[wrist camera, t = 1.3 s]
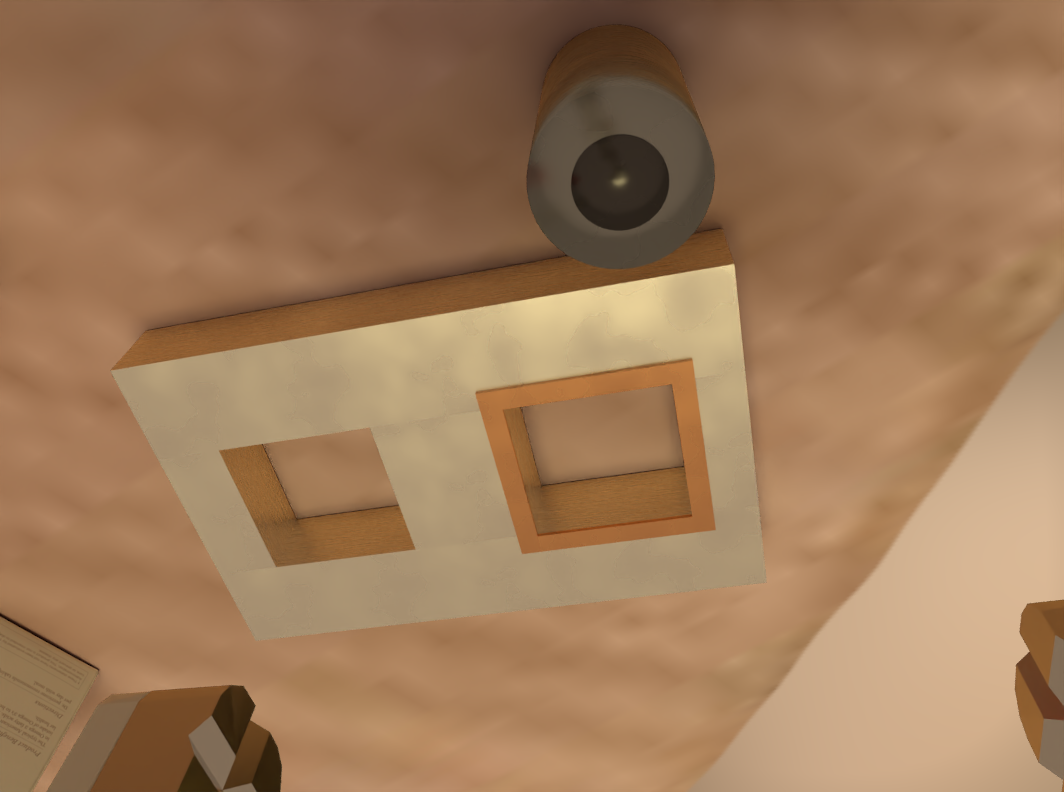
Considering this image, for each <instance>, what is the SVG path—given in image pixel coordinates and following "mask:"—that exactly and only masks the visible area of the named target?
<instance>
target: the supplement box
mask: <svg viewBox="0 0 1064 792" xmlns="http://www.w3.org/2000/svg"><path fill="white" fill-rule="evenodd" d="M98 673H99V671H98V670H97V669H95V668H93V667H91V666H89V665H87V664H86V663H84V662H82V661H80V660H78V659H76V658H74V657H73V656H71V655H69V654H67V653H65V652H64V651H62V650H60V649H58V648H56V647H54V646H53V645H51V644H49V643H47V642H45V641H43V640H42V639H40V638H38V637H36V636H34V635H33V634H31V633H29V632H27V631H25V630H24V629H22V628H20V627H18V626H16V625H15V624H13V623H11V622H9V621H7V620H6V619H4V618H2V617H0V792H33V790H34V788H35V786H36V785H37V783H38V781H39V779H40V778H41V776H42V774H43V772H44V771H45V769H46V767H47V765H48V764H49V762H50V760H51V758H52V756H53V755H54V753H55V751H56V749H57V748H58V746H59V744H60V742H61V741H62V739H63V737H64V735H65V734H66V732H67V730H68V728H69V726H70V724H71V723H72V721H73V719H74V717H75V715H76V713H77V711H78V710H79V708H80V706H81V704H82V702H83V701H84V699H85V697H86V695H87V693H88V692H89V690H90V688H91V686H92V685H93V683H94V681H95V679H96V677H97V675H98Z"/></svg>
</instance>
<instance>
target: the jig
mask: <svg viewBox="0 0 1064 792" xmlns="http://www.w3.org/2000/svg"><path fill="white" fill-rule="evenodd" d="M110 371H111V373H112V375H113V377H114V379H115V381H116V383H117V384H118V386H119V388H120V390H121V392H122V394H123V396H124V397H125V399H126V401H127V403H128V405H129V407H130V408H131V410H132V412H133V414H134V416H135V418H136V420H137V421H138V423H139V425H140V427H141V429H142V431H143V433H144V434H145V436H146V438H147V440H148V442H149V444H150V446H151V447H152V449H153V451H154V453H155V455H156V457H157V458H158V460H159V462H160V464H161V466H162V468H163V470H164V471H165V473H166V475H167V477H168V479H169V481H170V483H171V484H172V486H173V488H174V490H175V492H176V494H177V496H178V497H179V499H180V501H181V503H182V505H183V507H184V508H185V510H186V512H187V514H188V516H189V518H190V520H191V521H192V523H193V525H194V527H195V529H196V531H197V533H198V534H199V536H200V538H201V540H202V542H203V544H204V546H205V547H206V549H207V551H208V553H209V555H210V557H211V558H212V560H213V562H214V564H215V566H216V568H217V570H218V571H219V573H220V575H221V577H222V579H223V581H224V583H225V584H226V586H227V588H228V590H229V592H230V594H231V596H232V597H233V599H234V601H235V603H236V605H237V607H238V608H239V610H240V612H241V614H242V616H243V618H244V620H245V621H246V623H247V625H248V627H249V629H250V631H251V633H252V634H253V636H254V638H255V640H256V641H258V640H267V639H275V638H284V637H293V636H302V635H311V634H319V633H328V632H337V631H346V630H355V629H363V628H372V627H381V626H390V625H399V624H407V623H416V622H425V621H434V620H442V619H451V618H460V617H469V616H478V615H486V614H495V613H504V612H513V611H522V610H530V609H539V608H548V607H557V606H566V605H574V604H583V603H592V602H601V601H609V600H618V599H627V598H636V597H645V596H653V595H662V594H671V593H680V592H689V591H697V590H706V589H715V588H724V587H733V586H741V585H750V584H759V583H767V581H766V571H765V561H764V551H763V542H762V532H761V522H760V512H759V502H758V493H757V483H756V473H755V463H754V453H753V443H752V434H751V424H750V414H749V404H748V394H747V384H746V375H745V365H744V355H743V345H742V335H741V325H740V316H739V306H738V296H737V286H736V276H735V266H734V262H733V259H732V256H731V253H730V250H729V247H728V244H727V241H726V238H725V235H724V232H723V229H717V230H711V231H706V232H700V233H694V234H692V235H691V236H690V238H689V239H688V240H687V241H686V242H685V243H684V244H682V245H681V246H680V247H679V248H678V249H676V250H675V251H673V252H672V253H670V254H669V255H667V256H666V257H664V258H662V259H660V260H658V261H655V262H653V263H650V264H647V265H644V266H640V267H635V268H628V269H607V268H599V267H595V266H591V265H588V264H585V263H583V262H580V261H578V260H576V259H574V258H572V257H570V256H565V257H559V258H553V259H548V260H542V261H537V262H531V263H525V264H520V265H514V266H508V267H503V268H497V269H492V270H486V271H480V272H475V273H469V274H463V275H458V276H452V277H446V278H441V279H435V280H430V281H424V282H418V283H413V284H407V285H401V286H396V287H390V288H385V289H379V290H373V291H368V292H362V293H356V294H351V295H345V296H339V297H334V298H328V299H323V300H317V301H311V302H306V303H300V304H294V305H289V306H283V307H277V308H272V309H266V310H261V311H255V312H249V313H244V314H238V315H232V316H227V317H221V318H216V319H210V320H204V321H199V322H193V323H187V324H182V325H176V326H170V327H165V328H159V329H154V330H148V331H145V332H144V333H143V334H142V336H141V337H140V338H139V339H138V340H137V341H136V342H135V343H134V345H133V346H132V347H131V348H130V349H129V350H128V351H127V352H126V353H125V355H124V356H123V357H122V358H121V359H120V360H119V361H118V362H117V364H116V365H115V366H114V367H113V368H112V369H111V370H110ZM669 384H672V387H673V394H674V400H675V407H676V413H677V420H678V426H679V433H680V439H681V446H682V452H683V459H684V465H685V467H679V468H671V469H664V470H657V471H649V472H642V473H635V474H627V475H620V476H613V477H605V478H598V479H591V480H583V481H576V482H569V483H561V484H554V485H546V486H541V483H540V479H539V476H538V472H537V468H536V464H535V460H534V457H533V453H532V449H531V445H530V441H529V438H528V434H527V430H526V426H525V422H524V419H523V415H522V411H521V407H524V406H530V405H537V404H544V403H550V402H557V401H563V400H570V399H577V398H583V397H590V396H597V395H603V394H610V393H616V392H623V391H630V390H636V389H643V388H649V387H656V386H663V385H669ZM364 428H370V429H371V432H372V435H373V437H374V440H375V443H376V445H377V448H378V451H379V453H380V456H381V458H382V461H383V464H384V466H385V469H386V472H387V474H388V477H389V480H390V482H391V485H392V488H393V490H394V493H395V496H396V498H397V501H398V504H399V506H392V507H385V508H378V509H370V510H363V511H356V512H348V513H341V514H334V515H326V516H319V517H311V518H304V519H296V517H295V515H294V513H293V511H292V509H291V506H290V504H289V502H288V500H287V498H286V495H285V493H284V491H283V489H282V487H281V485H280V482H279V480H278V478H277V476H276V474H275V471H274V469H273V467H272V465H271V463H270V461H269V458H268V456H267V454H266V452H265V450H264V447H263V445H262V444H265V443H272V442H278V441H285V440H291V439H298V438H304V437H311V436H318V435H324V434H331V433H337V432H344V431H351V430H357V429H364Z"/></svg>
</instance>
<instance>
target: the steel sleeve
mask: <svg viewBox="0 0 1064 792" xmlns="http://www.w3.org/2000/svg"><path fill="white" fill-rule="evenodd" d="M714 179H715V173H714V161H713V156H712V152H711V149H710V146H709V143H708V140H707V137H706V135H705V132H704V130H703V127H702V124H701V122H700V119H699V117H698V114H697V111H696V109H695V106H694V104H693V101H692V99H691V96H690V93H689V91H688V88H687V86H686V83H685V81H684V78H683V75H682V73H681V70H680V68H679V66H678V64H677V62H676V59H675V58H674V56H673V55H672V53H671V52H670V51H669V49H668V48H667V47H666V46H665V45H664V44H663V43H662V42H661V41H660V40H658V39H657V38H656V37H654V36H653V35H651V34H649V33H648V32H646V31H643V30H641V29H639V28H635V27H632V26H626V25H605V26H600V27H596V28H593V29H590V30H588V31H585V32H583V33H581V34H580V35H578V36H576V37H575V38H573V39H572V40H571V41H570V42H568V43H567V44H566V45H565V46H564V47H563V48H562V49H561V50H560V51H559V52H558V54H557V55H556V57H555V58H554V59H553V61H552V63H551V65H550V67H549V69H548V71H547V74H546V76H545V80H544V84H543V88H542V93H541V99H540V104H539V109H538V115H537V120H536V125H535V131H534V136H533V141H532V147H531V152H530V157H529V163H528V170H527V193H528V199H529V203H530V206H531V210H532V213H533V215H534V217H535V219H536V222H537V223H538V225H539V226H540V228H541V230H542V231H543V233H544V234H545V235H546V236H547V238H548V239H549V240H550V241H551V242H552V243H553V244H554V245H555V246H556V247H557V248H558V249H560V250H561V251H563V252H564V253H565V254H567V255H568V256H570V257H572V258H574V259H576V260H578V261H580V262H583V263H585V264H588V265H591V266H595V267H599V268H607V269H628V268H635V267H640V266H644V265H647V264H650V263H653V262H655V261H658V260H660V259H662V258H664V257H666V256H667V255H669V254H670V253H672V252H673V251H675V250H676V249H678V248H679V247H680V246H681V245H682V244H684V243H685V242H686V241H687V240H688V239H689V238H690V236H691V235H692V234H693V233H694V232H695V230H696V229H697V228H698V226H699V225H700V223H701V222H702V220H703V218H704V216H705V214H706V212H707V210H708V207H709V204H710V202H711V198H712V194H713V189H714Z"/></svg>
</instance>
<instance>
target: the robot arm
mask: <svg viewBox="0 0 1064 792" xmlns="http://www.w3.org/2000/svg"><path fill="white" fill-rule="evenodd" d="M1020 634H1021V636H1022V638H1023V640H1024V642H1025V643H1026V645H1027V647H1028V649H1029V651H1030V652H1029V653H1028V654H1027V655H1026V656H1025V657H1024V658H1023V659H1021V660H1020V661H1019V662H1018V663H1017V664H1016V678H1015V679H1016V680H1015V692H1016V698H1017V704H1018V709H1019V715H1020V719H1021V722H1022V724H1023V727H1024V730H1025V733H1026V736H1027V739H1028V741H1029V743H1030V745H1031V747H1032V749H1033V751H1034V753H1035V756H1036V758H1037V760H1038V762H1039V763H1040V764H1042V765H1043V766H1044V767H1046V768H1047V769H1049V770H1050V771H1051V772H1053V773H1054V774H1056V775H1057V776H1058V777H1060V778H1061V779H1063V787H1062V792H1064V600H1056V601H1047V602H1038V603H1030V604H1027V606H1026V608H1025V609H1024V610H1023V612H1022V615H1021V623H1020ZM255 706H256V705H255V704H254V702H253V701H252V699H251V697H250V696H249V694H248V692H247V691H246V689H245V688H244V686H237V685H225V686H211V687H198V688H184V689H170V690H156V691H151V692H138V693H125V694H113V695H111V696H109V697H108V698H107V699H105V700H104V701H103V702H101V703H100V704H99V705H98V706H97V707H96V709H95V711H94V712H93V714H92V716H91V717H90V719H89V721H88V722H87V724H86V726H85V728H84V729H83V731H82V733H81V734H80V736H79V738H78V739H77V741H76V743H75V744H74V746H73V748H72V749H71V751H70V753H69V755H68V756H67V758H66V760H65V761H64V763H63V765H62V766H61V768H60V770H59V771H58V773H57V775H56V776H55V778H54V780H53V782H52V783H51V785H50V787H49V788H48V790H47V792H280V790H281V774H282V764H281V760H280V755H279V751H278V747H277V745H276V743H275V741H274V739H273V737H272V735H271V733H270V732H269V731H267V730H266V729H264V728H262V727H261V726H259V725H257V724H256V723H254V722H252V721H251V720H250V719H251V716H252V714H253V711H254V709H255Z"/></svg>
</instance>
